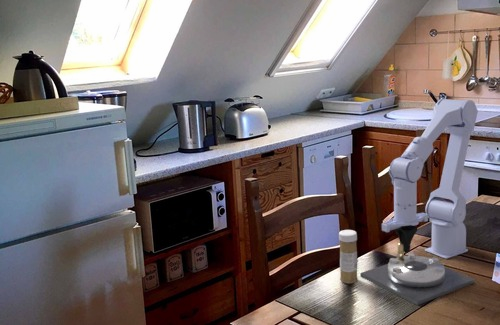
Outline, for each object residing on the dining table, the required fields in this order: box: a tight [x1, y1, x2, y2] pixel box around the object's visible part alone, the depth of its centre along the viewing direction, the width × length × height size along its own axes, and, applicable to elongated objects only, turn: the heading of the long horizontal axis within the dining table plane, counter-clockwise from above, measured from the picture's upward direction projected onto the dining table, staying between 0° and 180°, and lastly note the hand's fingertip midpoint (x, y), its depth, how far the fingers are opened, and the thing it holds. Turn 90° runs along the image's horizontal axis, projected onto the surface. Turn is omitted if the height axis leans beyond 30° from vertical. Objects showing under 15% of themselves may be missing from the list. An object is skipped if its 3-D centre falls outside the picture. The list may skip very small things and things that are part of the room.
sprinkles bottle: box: [338, 229, 358, 284], centre depth 141 cm, size 5×5×13 cm
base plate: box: [359, 254, 475, 306], centre depth 141 cm, size 20×20×1 cm
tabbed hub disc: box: [387, 241, 445, 287], centre depth 140 cm, size 14×14×7 cm
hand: (405, 251), depth 146 cm, fingers closed
